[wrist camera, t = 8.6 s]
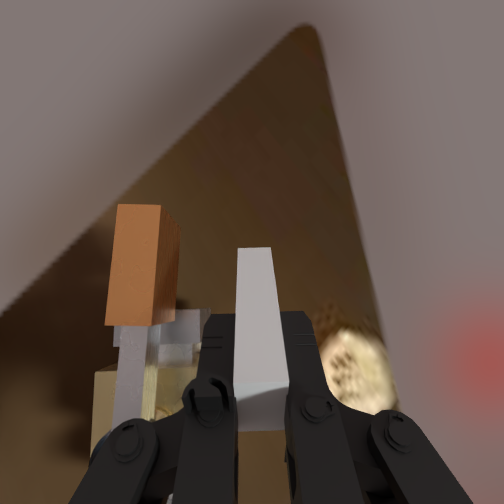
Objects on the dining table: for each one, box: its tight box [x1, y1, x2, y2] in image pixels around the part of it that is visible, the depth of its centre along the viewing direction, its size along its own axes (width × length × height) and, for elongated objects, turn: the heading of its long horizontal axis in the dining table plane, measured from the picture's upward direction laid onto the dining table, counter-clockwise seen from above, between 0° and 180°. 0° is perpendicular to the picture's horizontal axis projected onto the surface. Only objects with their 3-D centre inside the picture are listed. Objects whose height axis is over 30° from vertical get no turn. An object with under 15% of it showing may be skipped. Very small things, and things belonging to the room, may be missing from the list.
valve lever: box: [89, 204, 181, 467], centre depth 14 cm, size 13×3×4 cm, turn 179°
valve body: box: [90, 308, 211, 504], centre depth 19 cm, size 13×7×9 cm, turn 2°
